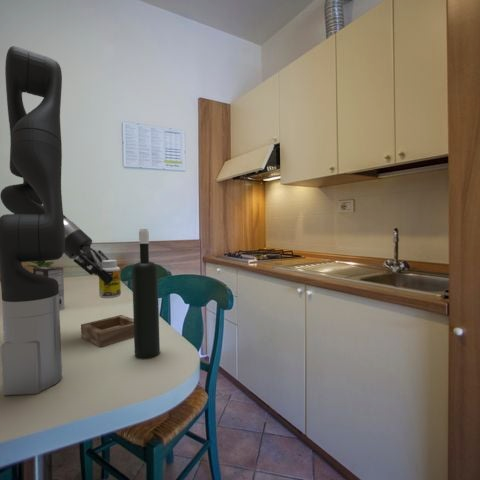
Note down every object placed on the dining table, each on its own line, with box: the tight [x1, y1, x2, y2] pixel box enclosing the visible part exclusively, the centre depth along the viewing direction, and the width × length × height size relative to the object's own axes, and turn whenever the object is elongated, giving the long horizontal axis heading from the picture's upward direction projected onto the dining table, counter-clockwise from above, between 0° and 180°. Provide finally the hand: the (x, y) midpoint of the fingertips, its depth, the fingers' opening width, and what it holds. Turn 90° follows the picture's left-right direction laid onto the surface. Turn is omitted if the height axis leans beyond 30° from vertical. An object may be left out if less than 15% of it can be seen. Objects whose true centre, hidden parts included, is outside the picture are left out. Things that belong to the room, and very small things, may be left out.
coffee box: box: [32, 265, 65, 311], centre depth 117 cm, size 9×6×16 cm
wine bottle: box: [131, 228, 161, 360], centre depth 73 cm, size 6×6×30 cm
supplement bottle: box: [98, 259, 122, 299], centre depth 86 cm, size 6×6×10 cm
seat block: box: [80, 314, 134, 348], centre depth 87 cm, size 12×12×4 cm
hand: (114, 279), depth 87 cm, fingers closed on supplement bottle, 5 cm apart
